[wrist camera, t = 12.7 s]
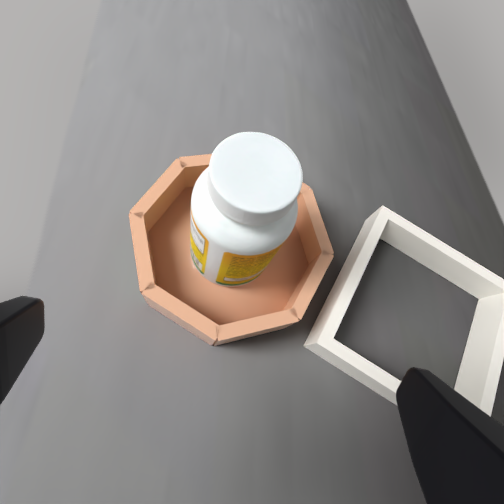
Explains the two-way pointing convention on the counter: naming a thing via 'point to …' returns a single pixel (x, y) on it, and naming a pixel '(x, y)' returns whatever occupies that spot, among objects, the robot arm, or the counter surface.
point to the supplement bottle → (243, 207)
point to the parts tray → (446, 265)
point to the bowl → (212, 295)
